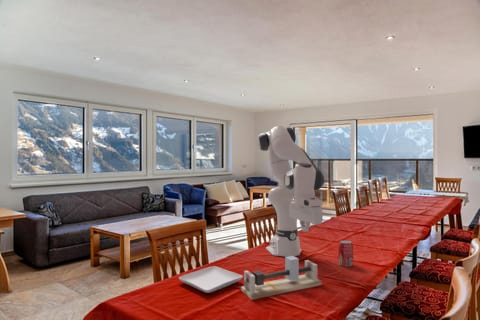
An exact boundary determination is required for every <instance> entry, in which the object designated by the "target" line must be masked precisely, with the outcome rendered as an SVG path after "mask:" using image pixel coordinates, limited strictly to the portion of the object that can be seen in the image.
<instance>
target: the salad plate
mask: <svg viewBox="0 0 480 320" xmlns="http://www.w3.org/2000/svg"><path fill="white" fill-rule="evenodd" d="M178 279H179V281H180V282H182V283H183V284H186V285H188V286H191V287H193V288H195V289H197V290H198V291H201V292H204V293H208V294H209V293H213V292H216V291H218V290H221V289H224V288H226V287H228V286H231V285H233V284H235V283H237V282H239V281H241V279H244V275H243V274H239V273H237V272H234V271H231V270H230V271H229V270H227V269H224V268H222V267H220V266H215V265H213V266H209V267H204V268H201V269H199V270H196V271H193V272H190V273H189V272H188V273H186V274H184V275H181V276H179V277H178Z"/></svg>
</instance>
